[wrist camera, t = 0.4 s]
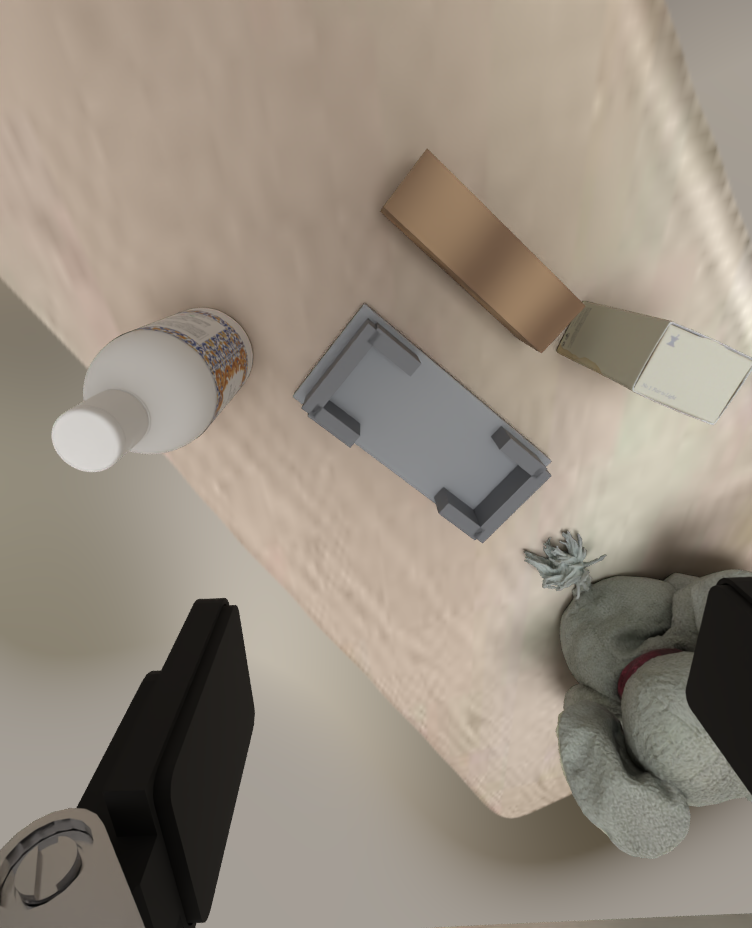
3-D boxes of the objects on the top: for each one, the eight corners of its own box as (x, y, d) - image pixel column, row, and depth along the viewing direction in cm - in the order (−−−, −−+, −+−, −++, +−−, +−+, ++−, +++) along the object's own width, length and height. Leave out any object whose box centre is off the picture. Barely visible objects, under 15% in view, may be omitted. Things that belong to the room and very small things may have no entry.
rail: (294, 393, 42) (287, 407, 39) (364, 302, 40) (364, 309, 36) (475, 529, 48) (484, 553, 44) (547, 456, 45) (564, 476, 41)
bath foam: (226, 412, 43) (124, 540, 25) (148, 363, 41) (-25, 460, 23) (271, 342, 41) (196, 424, 22) (190, 287, 39) (38, 326, 21)
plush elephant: (799, 612, 52) (1050, 825, 33) (625, 738, 59) (752, 978, 39) (627, 449, 45) (821, 601, 26) (449, 612, 51) (501, 831, 32)
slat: (380, 211, 38) (383, 206, 32) (417, 162, 37) (427, 148, 31) (517, 338, 41) (541, 353, 36) (555, 297, 40) (585, 306, 35)
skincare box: (554, 351, 42) (624, 391, 30) (583, 296, 40) (668, 317, 29) (621, 380, 43) (714, 430, 32) (652, 328, 41) (761, 360, 30)
